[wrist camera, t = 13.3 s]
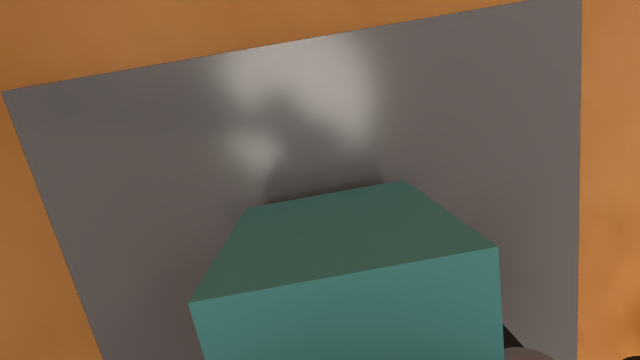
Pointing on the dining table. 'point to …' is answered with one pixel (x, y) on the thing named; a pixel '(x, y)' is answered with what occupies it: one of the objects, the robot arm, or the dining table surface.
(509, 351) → the robot arm
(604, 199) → the dining table surface
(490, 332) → the block
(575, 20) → the board
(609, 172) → the dining table surface
